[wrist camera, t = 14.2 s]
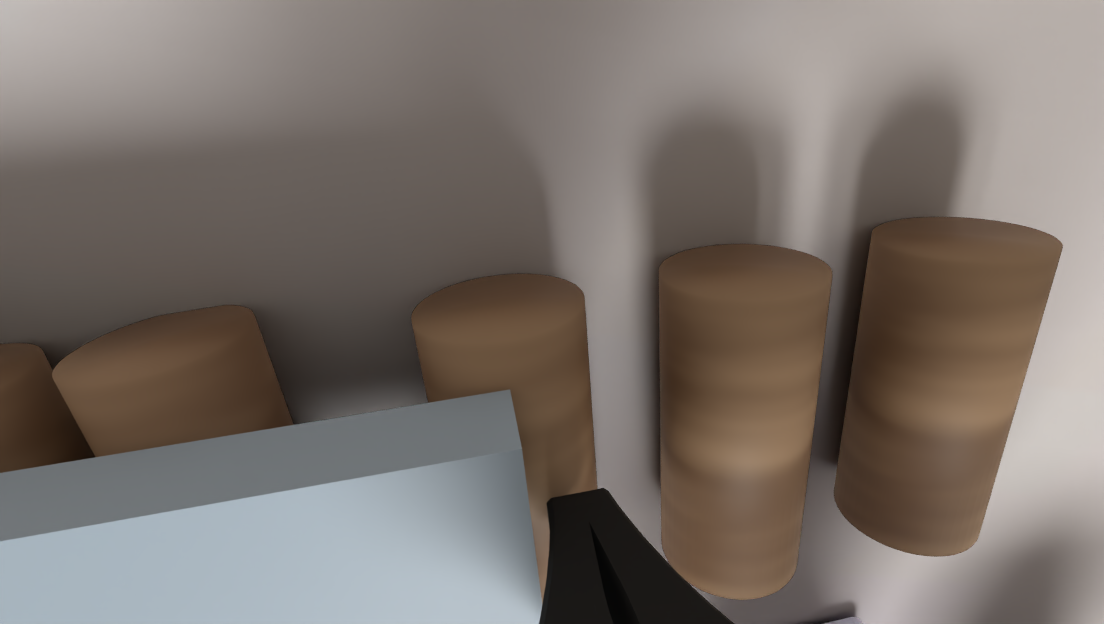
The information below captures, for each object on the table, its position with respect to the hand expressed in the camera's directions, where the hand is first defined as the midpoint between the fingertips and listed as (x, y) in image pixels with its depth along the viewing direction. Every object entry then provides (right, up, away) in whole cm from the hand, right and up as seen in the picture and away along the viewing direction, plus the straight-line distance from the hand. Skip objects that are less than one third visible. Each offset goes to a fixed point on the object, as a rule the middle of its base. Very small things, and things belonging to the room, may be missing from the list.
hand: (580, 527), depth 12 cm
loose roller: (-9, +1, +3) cm, 9 cm away
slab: (-7, -1, 0) cm, 7 cm away
